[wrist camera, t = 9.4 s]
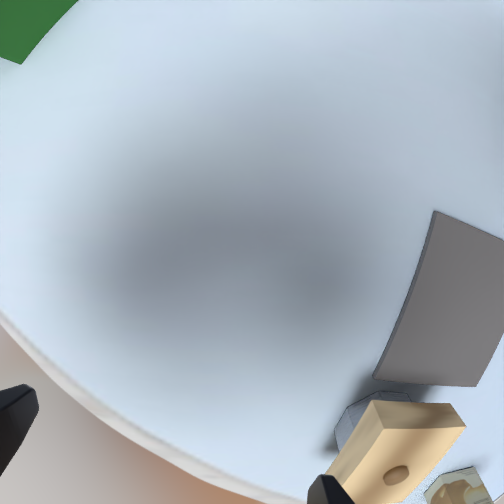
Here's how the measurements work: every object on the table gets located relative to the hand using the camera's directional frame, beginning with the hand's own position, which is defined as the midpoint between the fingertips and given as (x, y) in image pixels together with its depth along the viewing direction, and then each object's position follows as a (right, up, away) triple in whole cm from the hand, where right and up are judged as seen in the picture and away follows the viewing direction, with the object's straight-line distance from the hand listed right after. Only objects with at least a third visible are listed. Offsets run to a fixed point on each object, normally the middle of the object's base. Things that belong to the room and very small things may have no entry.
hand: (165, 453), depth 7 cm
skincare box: (+26, -22, +16) cm, 38 cm away
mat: (+18, +1, +11) cm, 21 cm away
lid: (+12, -9, +11) cm, 18 cm away
